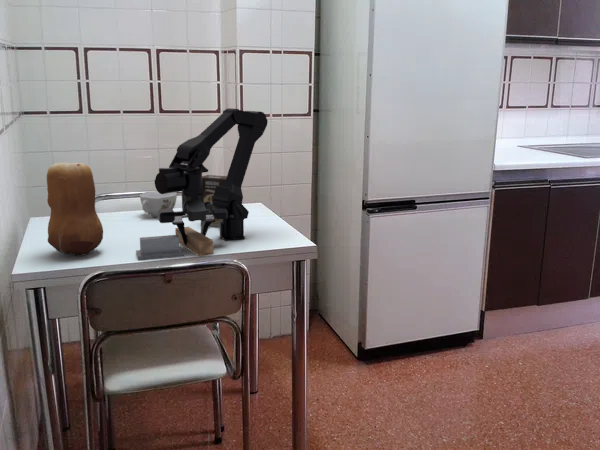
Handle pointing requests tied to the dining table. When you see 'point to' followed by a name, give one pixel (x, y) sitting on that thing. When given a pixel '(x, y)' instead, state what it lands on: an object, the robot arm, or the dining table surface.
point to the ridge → (159, 247)
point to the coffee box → (211, 190)
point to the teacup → (157, 202)
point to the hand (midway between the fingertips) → (193, 243)
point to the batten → (196, 242)
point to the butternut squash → (72, 209)
